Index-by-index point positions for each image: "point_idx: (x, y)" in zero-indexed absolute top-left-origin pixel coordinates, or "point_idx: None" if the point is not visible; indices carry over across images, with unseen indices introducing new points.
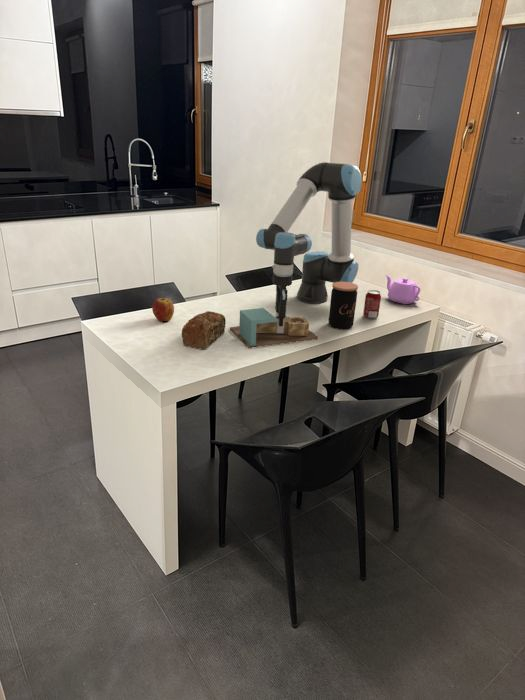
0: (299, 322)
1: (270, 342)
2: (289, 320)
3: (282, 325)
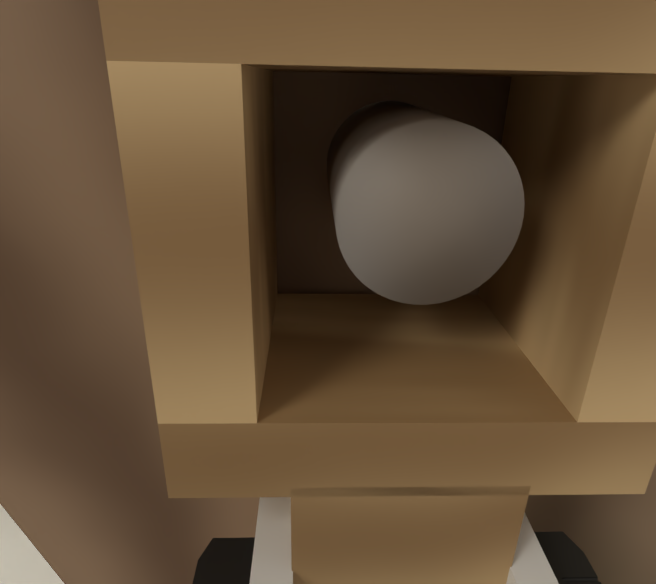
0: (432, 190)
1: (648, 534)
2: (441, 462)
3: (577, 553)
